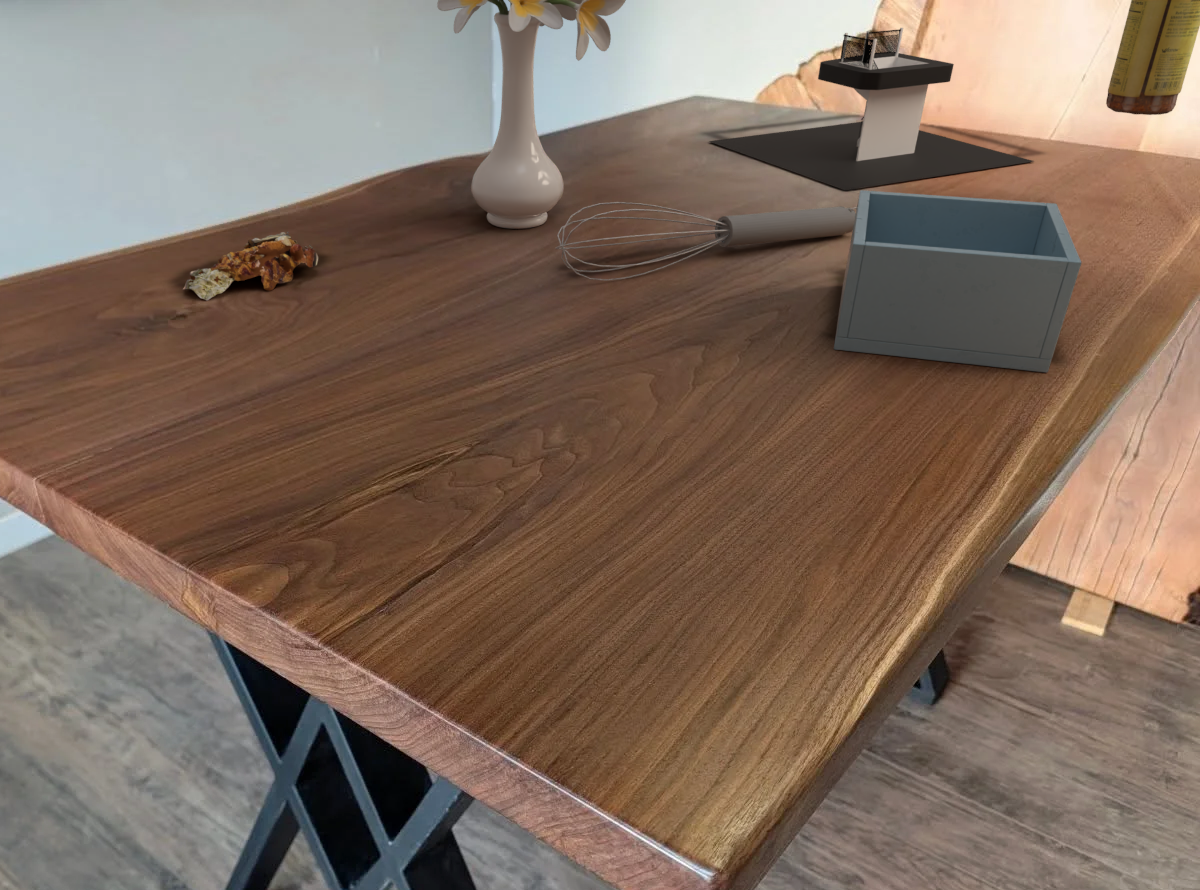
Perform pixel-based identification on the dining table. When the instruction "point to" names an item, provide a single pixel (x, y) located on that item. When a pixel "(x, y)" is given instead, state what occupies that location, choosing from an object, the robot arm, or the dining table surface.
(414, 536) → the dining table surface
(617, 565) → the dining table surface
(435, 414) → the dining table surface
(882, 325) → the open box
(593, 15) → the flower vase
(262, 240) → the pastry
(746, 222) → the kitchen whisk
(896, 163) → the black-topped pedestal
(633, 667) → the dining table surface
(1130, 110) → the sauce bottle
